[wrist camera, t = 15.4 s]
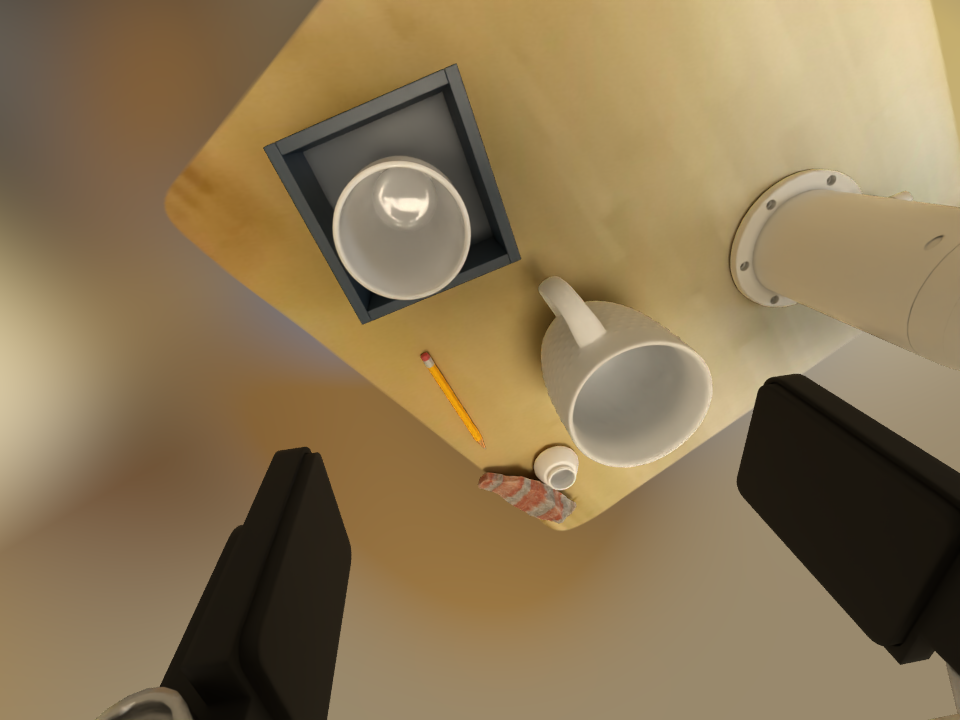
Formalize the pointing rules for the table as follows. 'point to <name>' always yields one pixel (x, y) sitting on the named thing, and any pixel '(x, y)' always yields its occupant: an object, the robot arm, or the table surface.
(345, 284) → the bin
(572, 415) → the mug
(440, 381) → the pencil
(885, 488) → the robot arm
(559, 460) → the lidless jar
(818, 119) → the table surface
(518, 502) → the stone
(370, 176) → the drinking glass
